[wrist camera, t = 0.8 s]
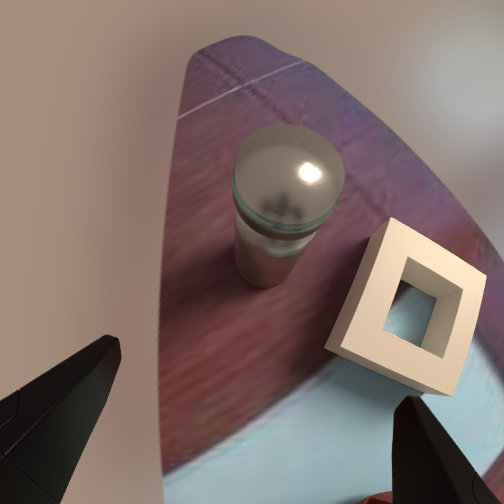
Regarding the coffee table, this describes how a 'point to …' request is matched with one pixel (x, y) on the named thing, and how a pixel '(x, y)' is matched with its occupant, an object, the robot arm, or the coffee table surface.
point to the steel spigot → (281, 198)
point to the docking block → (380, 299)
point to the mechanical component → (378, 499)
